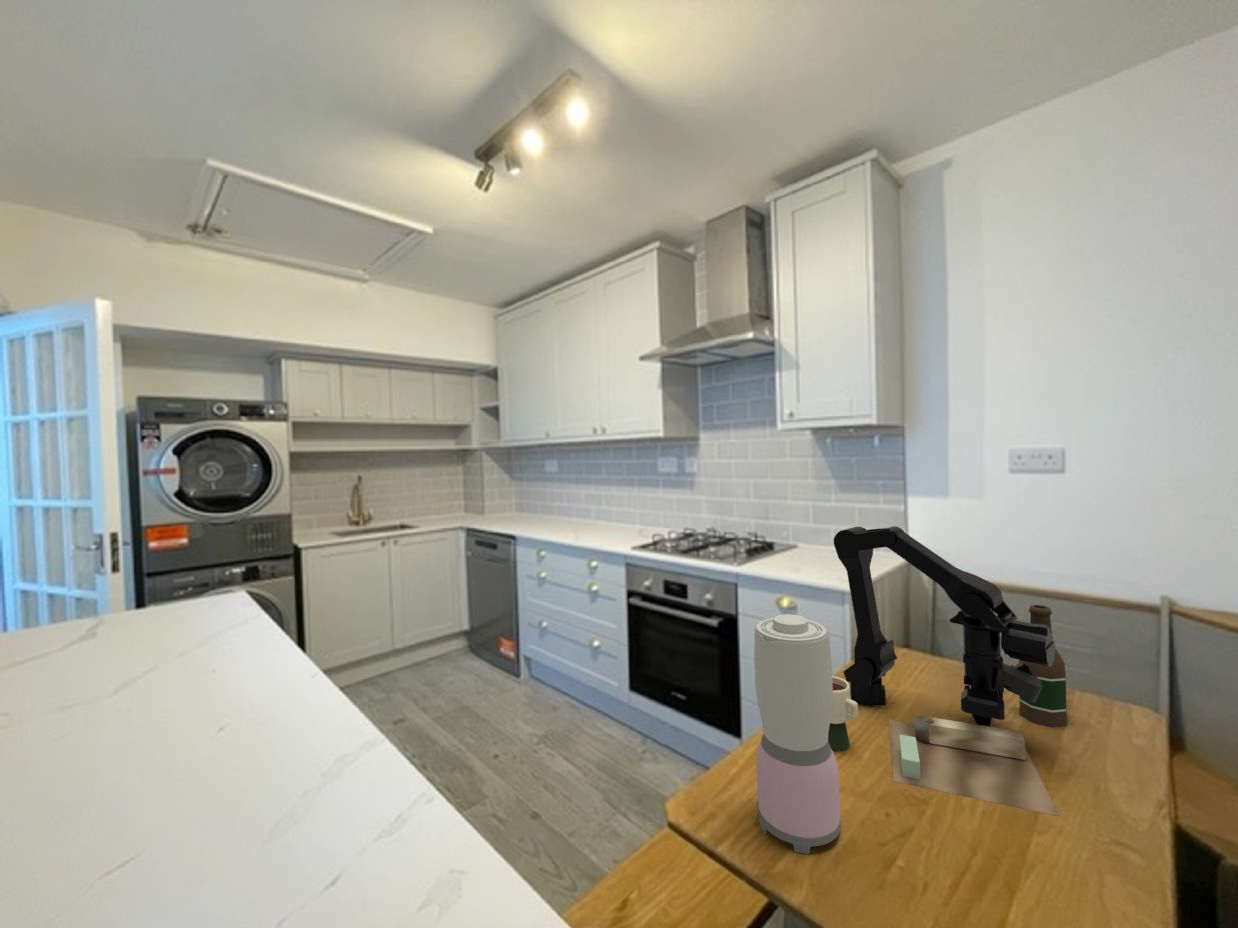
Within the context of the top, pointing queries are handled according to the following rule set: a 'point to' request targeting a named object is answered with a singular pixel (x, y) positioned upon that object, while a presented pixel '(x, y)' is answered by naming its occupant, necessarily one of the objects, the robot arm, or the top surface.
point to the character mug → (841, 715)
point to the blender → (796, 733)
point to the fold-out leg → (970, 736)
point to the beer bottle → (1046, 683)
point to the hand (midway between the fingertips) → (984, 732)
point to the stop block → (909, 757)
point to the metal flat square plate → (972, 773)
